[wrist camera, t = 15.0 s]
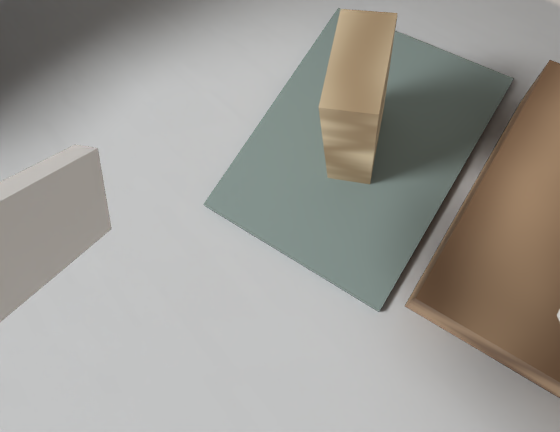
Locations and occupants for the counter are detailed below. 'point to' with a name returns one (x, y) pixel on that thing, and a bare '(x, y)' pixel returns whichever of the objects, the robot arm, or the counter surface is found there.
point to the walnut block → (507, 247)
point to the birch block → (356, 92)
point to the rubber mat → (385, 176)
